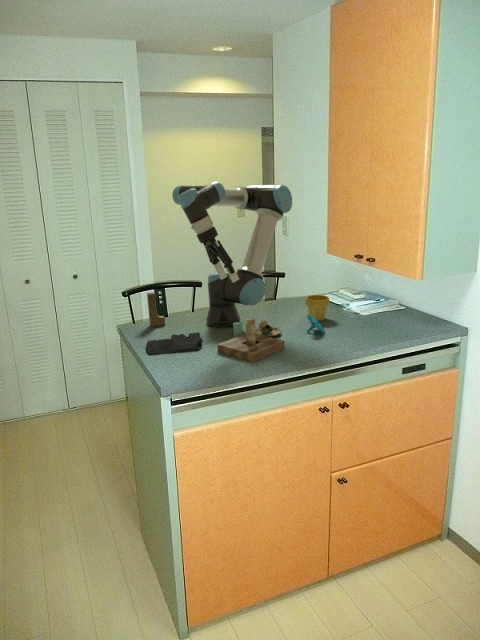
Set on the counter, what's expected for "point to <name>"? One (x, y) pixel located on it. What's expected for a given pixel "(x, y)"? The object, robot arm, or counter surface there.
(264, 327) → the burger
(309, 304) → the plant pot
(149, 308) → the wooden block
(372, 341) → the counter surface
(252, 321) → the long maple pin
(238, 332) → the short teal pin
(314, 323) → the gear
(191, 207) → the robot arm
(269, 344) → the walnut hole board
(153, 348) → the dark slate chunk
